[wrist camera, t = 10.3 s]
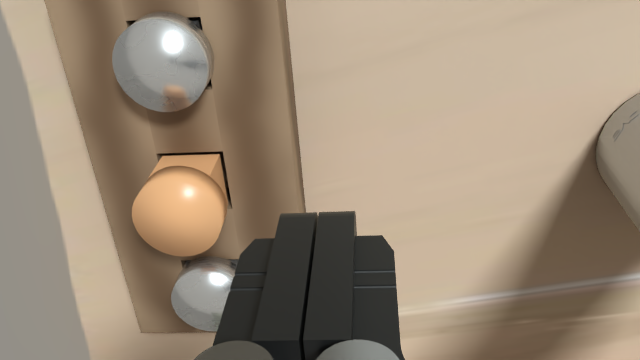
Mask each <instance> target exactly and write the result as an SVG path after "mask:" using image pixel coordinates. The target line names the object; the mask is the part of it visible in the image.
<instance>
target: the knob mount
mask: <svg viewBox="0 0 640 360" xmlns="http://www.w3.org/2000/svg"><path fill="white" fill-rule="evenodd" d="M44 1H45V4H46V8H47V11H48V14H49V18H50V21H51V25H52V28H53V32H54V35H55V38H56V42H57V45H58V49H59V52H60V56H61V59H62V62H63V66H64V69H65V73H66V76H67V80H68V83H69V87H70V90H71V93H72V97H73V100H74V104H75V107H76V111H77V114H78V117H79V121H80V124H81V128H82V131H83V135H84V138H85V141H86V145H87V148H88V152H89V155H90V159H91V162H92V166H93V169H94V172H95V176H96V179H97V183H98V186H99V190H100V193H101V196H102V200H103V203H104V207H105V210H106V214H107V217H108V220H109V224H110V227H111V231H112V234H113V238H114V241H115V244H116V248H117V251H118V255H119V258H120V262H121V265H122V269H123V272H124V275H125V279H126V282H127V286H128V289H129V293H130V296H131V299H132V303H133V306H134V310H135V313H136V317H137V320H138V323H139V327H140V330H141V333H166V332H213V331H204V330H200V329H197V328H195V327H193V326H191V325H189V324H187V323H186V322H184V321H183V320H182V319H181V318H180V317H179V316H178V315H177V313H176V312H175V310H174V308H173V306H172V302H171V294H172V290H173V288H174V286H175V283H176V281H177V278H178V276H179V274H180V271H181V270H182V268H183V267H184V266H185V263H186V260H193V259H196V258H199V257H204V256H215V257H221V258H224V259H239V257H240V254H241V253H242V252H243V251H244V250H245V249H246V248H247V247H248V246H249V245H250V244H251V243H252V241H253V240H254V239H263V238H275V234H276V230H277V225H278V221H279V217H280V214H281V213H306V209H305V199H304V188H303V178H302V168H301V157H300V147H299V136H298V126H297V116H296V105H295V95H294V84H293V74H292V64H291V53H290V43H289V32H288V22H287V11H286V1H285V0H44ZM153 12H172V13H176V14H179V15H182V16H184V17H186V18H187V17H200V18H201V24H202V30H203V32H204V34H205V35H206V37H207V38H208V40H209V42H210V44H211V47H212V50H213V54H214V70H213V74H212V77H211V80H210V82H209V83H208V85H207V86H206V87H205V89H204V91H203V92H202V94H201V95H200V97H199V98H198V99H197V100H196V101H195V102H194V103H193V104H191V105H190V106H188V107H187V108H185V109H182V110H179V111H175V112H159V111H154V110H151V109H148V108H146V107H144V106H142V105H140V104H138V103H137V102H135V101H134V100H133V99H132V98H130V97H129V96H128V95H127V94H126V93H125V91H124V90H123V89H122V87H121V86H120V84H119V83H118V81H117V78H116V76H115V73H114V70H113V64H112V55H113V49H114V46H115V43H116V41H117V39H118V37H119V36H120V35H121V34H122V32H123V31H125V30H126V29H127V28H128V27H129V26H131V25H132V24H133V23H134V22H136V21H137V20H138V19H140V18H141V17H143V16H145V15H147V14H150V13H153ZM208 154H220V158H221V164H222V170H223V176H224V182H225V188H226V194H227V199H228V206H227V214H226V218H225V220H224V223H223V226H222V229H221V231H220V234H219V236H218V239H217V240H216V242H215V243H214V244H213V246H211V247H210V248H209V249H208V250H206V251H205V252H202V253H200V254H197V255H193V256H185V257H184V256H173V255H169V254H166V253H163V252H161V251H159V250H157V249H155V248H153V247H152V246H150V245H149V244H148V243H147V242H146V241H145V240H143V238H142V237H141V236H140V235H139V233H138V232H137V230H136V228H135V226H134V223H133V219H132V206H133V203H134V201H135V199H136V197H137V195H138V194H139V192H140V191H141V189H142V187H143V186H144V184H145V183H146V181H147V180H148V178H149V176H150V175H151V173H152V171H153V170H154V168H155V167H156V165H157V164H158V162H159V160H160V159H161V157H162V156H178V155H208Z"/></svg>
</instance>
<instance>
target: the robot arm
mask: <svg viewBox="0 0 640 360" xmlns="http://www.w3.org/2000/svg"><path fill="white" fill-rule="evenodd" d="M596 163H597V167H598V170H599V173H600V175H601V177H602V178H603V180H604V181H605V183H606V184H607V186H608V187H609V189H610V190H611V191H612V193H613V194H614V196H615V197H616V199H617V200H618V201H619V203H620V204H621V206H622V208H623V209H624V210H625V212H626V213H627V215H628V216H629V218H630V219H631V220H632V222H633V223H634V225H635V226H636V228H637V229H638V230H639V232H640V93H639V94H637V95H636V96H634V97H633V98H631V99H630V100H628V101H627V102H625V103H624V104H623V105H622V106H621V107H620V108H619V109H618V110H617V111H616V112H614V113H613V115H612V116H611V117H610V119H609V120H608V122H607V123H606V124H605V126H604V128H603V130H602V132H601V134H600V136H599V139H598V144H597V148H596ZM194 360H405V359H404V357H403V354H402V351H401V346H400V332H399V318H398V303H397V289H396V275H395V261H394V251H393V249H392V248H391V247H390V245H389V244H388V243H387V241H386V240H385V239H384V237H383V236H382V235H379V236H357V231H356V215H355V211H346V212H319V215H317V213H316V212H315V213H281V214H280V217H279V221H278V225H277V230H276V234H275V238H263V239H254V240H253V241H252V243H251V244H250V245H249V246H248V247H247V248H246V249H245V250H244V251H243V252H242V253H241V254H240V257H239V260H238V263H237V267H236V270H235V276H234V277H233V280H232V283H231V287H230V291H229V293H228V297H227V300H226V303H225V307H224V310H223V313H222V317H221V320H220V323H219V326H218V330H217V333H216V336H215V340H214V343H213V346H212V347H210V348H208V349H207V350H205V351H204V352H202V353H201V354H199V355H198V356H197V357H196V358H195V359H194Z"/></svg>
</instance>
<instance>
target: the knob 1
mask: <svg viewBox="0 0 640 360" xmlns="http://www.w3.org/2000/svg"><path fill="white" fill-rule="evenodd" d="M112 64H113V70H114V73H115V76H116V78H117V81H118V83H119V84H120V86H121V87H122V89H123V90H124V91H125V93H126V94H127V95H128V96H129V97H130V98H132V99H133V100H134V101H135V102H137V103H138V104H140V105H142V106H144V107H146V108H148V109H151V110H154V111H159V112H175V111H179V110H182V109H185V108H187V107H188V106H190V105H191V104H193V103H194V102H195V101H196V100H197V99H198V98H199V97H200V95H201V94H202V92H203V91H204V89H205V87H206V86H207V85H208V83H209V82H210V80H211V77H212V74H213V70H214V54H213V50H212V47H211V44H210V42H209V40H208V38H207V37H206V35H205V34H204V32H203V30H202V24H201V18H200V17H187V18H186V17H184V16H182V15H179V14H176V13H172V12H153V13H150V14H147V15H145V16H143V17H141V18H140V19H138V20H137V21H136V22H134V23H133V24H132V25H131V26H129V27H128V28H127V29H126V30H125V31H123V32H122V34H121V35H120V36H119V37H118V39H117V41H116V43H115V46H114V49H113V55H112Z"/></svg>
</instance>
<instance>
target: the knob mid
mask: <svg viewBox="0 0 640 360" xmlns="http://www.w3.org/2000/svg"><path fill="white" fill-rule="evenodd" d="M227 206H228V199H227V194H226V188H225V182H224V176H223V170H222V164H221V158H220V154H208V155H178V156H162V157H161V159H160V160H159V162H158V164H157V165H156V167H155V168H154V170H153V171H152V173H151V175H150V176H149V178H148V180H147V181H146V183H145V184H144V186H143V187H142V189H141V191H140V192H139V194H138V195H137V197H136V199H135V201H134V203H133V206H132V219H133V223H134V226H135V228H136V230H137V232H138V233H139V235H140V236H141V237H142V238H143V240H145V241H146V242H147V243H148V244H149V245H150V246H152V247H153V248H155V249H157V250H159V251H161V252H163V253H166V254H169V255H173V256H184V257H185V256H193V255H197V254H200V253H202V252H205V251H206V250H208V249H209V248H210V247H211V246H213V244H214V243H215V242H216V240H217V239H218V236H219V234H220V231H221V229H222V226H223V223H224V220H225V218H226V214H227Z"/></svg>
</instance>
